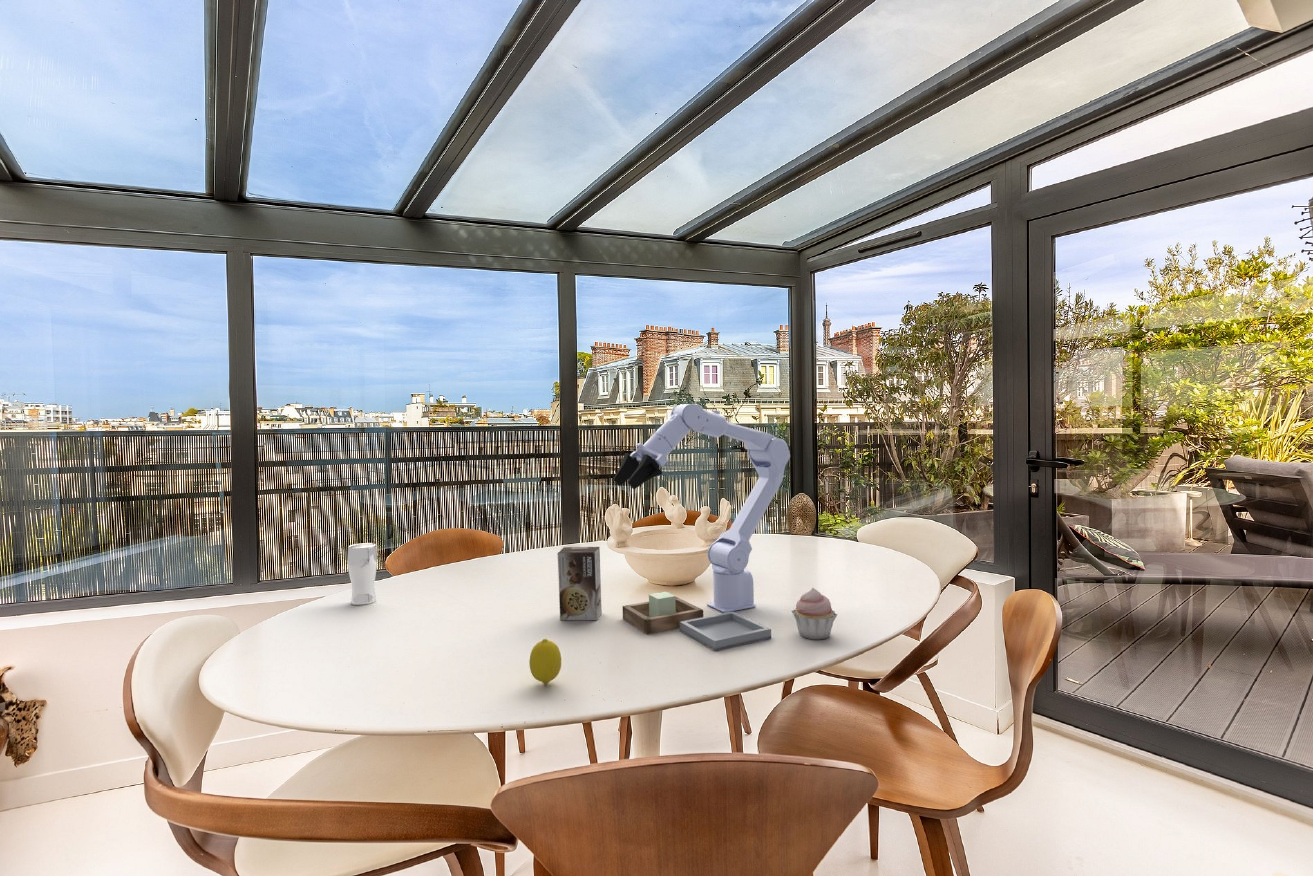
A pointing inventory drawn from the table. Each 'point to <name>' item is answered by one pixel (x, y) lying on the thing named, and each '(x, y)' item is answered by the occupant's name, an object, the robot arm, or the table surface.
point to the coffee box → (579, 583)
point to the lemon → (545, 661)
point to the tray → (725, 630)
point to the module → (661, 604)
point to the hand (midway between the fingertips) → (623, 484)
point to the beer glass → (362, 572)
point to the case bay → (660, 623)
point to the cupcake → (814, 615)
